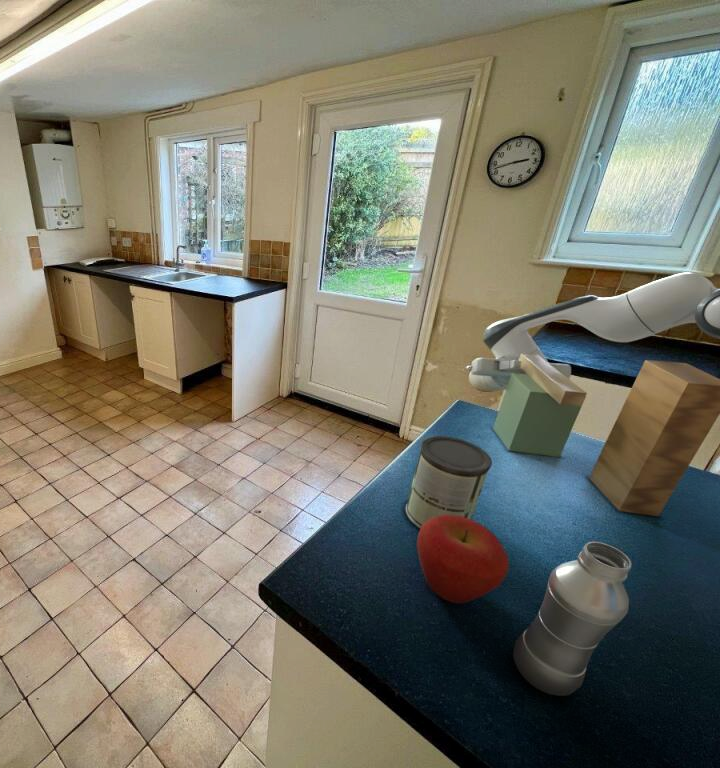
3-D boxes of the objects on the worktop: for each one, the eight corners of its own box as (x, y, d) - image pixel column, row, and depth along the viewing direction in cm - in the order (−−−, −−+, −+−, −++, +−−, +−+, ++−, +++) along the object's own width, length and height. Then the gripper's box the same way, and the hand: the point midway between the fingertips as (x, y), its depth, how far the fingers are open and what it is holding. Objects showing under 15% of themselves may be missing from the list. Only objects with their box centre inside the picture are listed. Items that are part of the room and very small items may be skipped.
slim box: (533, 366, 99) (538, 354, 98) (581, 406, 81) (587, 393, 80) (516, 365, 100) (520, 353, 99) (560, 404, 82) (565, 391, 80)
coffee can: (400, 494, 80) (415, 432, 74) (459, 503, 78) (479, 439, 72) (410, 533, 71) (428, 465, 65) (476, 544, 69) (502, 475, 63)
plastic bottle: (495, 657, 52) (550, 539, 44) (534, 641, 54) (595, 525, 46) (546, 712, 47) (621, 590, 38) (588, 693, 49) (669, 572, 40)
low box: (539, 433, 100) (561, 377, 94) (559, 457, 91) (586, 396, 85) (492, 428, 102) (511, 372, 96) (508, 450, 94) (530, 391, 87)
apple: (489, 641, 54) (519, 576, 49) (401, 602, 59) (419, 540, 54) (489, 579, 63) (514, 518, 58) (412, 550, 68) (428, 492, 63)
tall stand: (623, 482, 83) (686, 363, 72) (658, 516, 75) (736, 386, 64) (588, 477, 85) (645, 359, 74) (618, 511, 76) (688, 382, 65)
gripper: (463, 357, 112) (486, 348, 98) (550, 364, 107) (587, 355, 94) (461, 380, 111) (484, 374, 98) (549, 388, 107) (585, 383, 93)
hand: (535, 365), depth 96 cm, fingers open, 6 cm apart
